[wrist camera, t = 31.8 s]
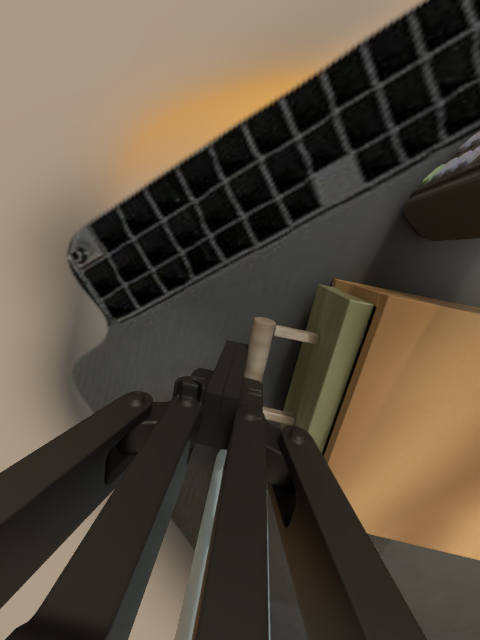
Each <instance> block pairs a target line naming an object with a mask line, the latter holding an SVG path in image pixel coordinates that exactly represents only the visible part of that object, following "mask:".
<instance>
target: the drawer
mask: <svg viewBox="0 0 480 640" xmlns="http://www.w3.org/2000/svg"><path fill="white" fill-rule="evenodd" d="M376 308H377V307H375V306H374V304H372V303H369V302H367V301H365V300H362V299H360V298H358V297H355V296H353V295H351V294H348V293H346V292H344V291H341V290H339V289H337V288H334V287H330V286H325V285H321V284H319V285H318V289H317V292H316V296H315V299H314V303H313V306H312V310H311V313H310V317H309V320H308V324H307V328H306V331H304V330H299V329H294V328H289V327H285V326H280V325H276V322H275V321H273V320H271V319H268V318H264V317H255V318H254V321H253V326H252V330H251V335H250V340H249V344H248V349H247V355H246V361H245V367H244V373H243V377H246V378H250V379H255V380H259V381H260V382H261V383H262V379H263V375H264V371H265V367H266V362H267V358H268V354H269V350H270V346H271V342H272V338H273V334H274V336H277V337H282V338H287V339H291V340H296V341H301V342H302V345H301V349H300V352H299V356H298V360H297V363H296V367H295V370H294V374H293V377H292V381H291V384H290V388H289V391H288V395H287V399H286V402H285V406H284V409H283V411H281V410H276V409H272V408H267V407H263V413H264V415H265V418H266V419H267V420H271V421H276V422H280V424H281V430H282V429H283V428H284V427H286V426H289V425H293V426H298V427H300V428H302V429H304V430H306V431H307V432H308V433H309V434H310V435H311V436H312V437H313V439H314V441H315V443H316V444H317V446H318V448H319V450H320V451H321V453H322V455H323V457H324V454H325V451H326V448H327V446H328V443H329V440H330V437H331V434H332V431H333V429H334V426H335V423H336V420H337V417H338V415H339V412H340V409H341V406H342V403H343V401H344V398H345V395H346V392H347V389H348V387H349V384H350V381H351V378H352V375H353V372H354V370H355V367H356V364H357V361H358V358H359V356H360V353H361V350H362V347H363V344H364V342H365V339H366V336H367V333H368V330H369V327H370V325H371V322H372V319H373V316H374V313H375V311H376Z"/></svg>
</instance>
